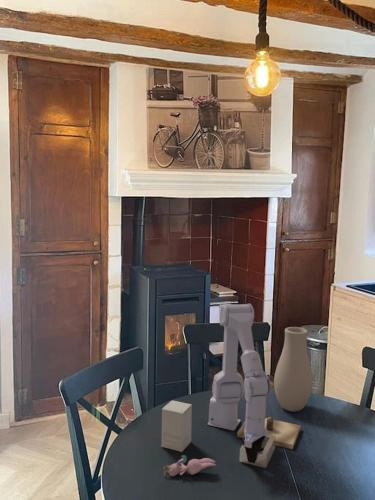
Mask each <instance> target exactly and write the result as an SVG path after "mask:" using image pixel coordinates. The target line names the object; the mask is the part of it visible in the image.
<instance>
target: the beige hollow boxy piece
mask: <svg viewBox="0 0 375 500" xmlns="http://www.w3.org/2000/svg"><path fill="white" fill-rule="evenodd" d="M275 441H276V437H275V436H271V435H267V436H265V438H264V440H263V442H262V446H261V449H263V450H260V451H258V453H257V458H256V462H255V463H250V462H248V460H247V454H246V450H245V447H244V445H243V444H242V445H241V446H240V448H239V457H238V458H239V463H244V464H249V465H252V466H256V467H260V468H264V469H266V468H267V466H268V464H269V462H270V460H271V458H272V456H273V453H274V452H275V449H276V445H275Z"/></svg>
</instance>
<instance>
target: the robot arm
mask: <svg viewBox="0 0 375 500" xmlns="http://www.w3.org/2000/svg"><path fill="white" fill-rule="evenodd" d="M254 319H255V310H254V307H253V304H251V303H246V304H245V303H243V304H223V305H221V307H220V309H219V326H222V327H223V329H224V331H223V346H222V350H223V351H222V370H221V371H219V372H218V373H216V374H215V375H214V376H213V382H212V384H211V391H212V396H211V398H210V401H209V405H208V422H207V425H208V426H212V427H216V428H221V429H225V430H228V431H229V430H230V431H235V430H236V429H237V427H238V426H239V424H240V423H241V421H242V420H241V419H240V418H238V409H239V402H240V401H241V398H243V396H244V399H245V402H246V403H245V417H244V418H245V421H244V422H245V428H244V434H245V437H243V438H242V439H241V444H242V445H244V447H245V450H246V454H247V460H248V462H250V463H255V462H256V458H257V453H258V451H261V449H262V448H261V446H262V442H263V440H264V438H265V436H267V435H268V433H269V432H268V431H266V430H265V418H266V411H267V409H266V408H267V407H266V406H267V396H268V395H270V393H271V382H270V377H269V376H268V375H267V372H266V371H264V368H263V364H262V363H263V362H262V360H261V356H260V353H259V352H258V351H256V350H255V346H254V339H253V338H254V337H253V330H252V326H253V324H254ZM239 345H240V347H241V350H242V354H241V356H240V361H241V365H242V371H243V376H244V378H243V376H242V375H241V374H240V373H239V372H238V369H237V368H238V356H239V355H238V350H239V349H238V348H239Z"/></svg>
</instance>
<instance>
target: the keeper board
mask: <svg viewBox="0 0 375 500" xmlns="http://www.w3.org/2000/svg"><path fill="white" fill-rule="evenodd" d="M301 426H302V425H300V424H296V423H290V422H286V421H281V420H278V419H277V420H276V419H274V418H273V417H272V416H268V417H265V430H266V431H268V432H269V433H268V435H271V436H275V437H276V441H275V447H276V446H277V447H281V448H285V449H289V450H293V449H294V446H295V444H296V442H297V439H298V437H299V434H300V433H301V430H302V429H301ZM244 428H245V421H244V422H243V423H242V425H241V427H239V429H238V431H237V434H236V436H237V438H242V439H243V437H245V434H244Z"/></svg>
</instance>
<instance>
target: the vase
mask: <svg viewBox="0 0 375 500" xmlns="http://www.w3.org/2000/svg"><path fill="white" fill-rule="evenodd" d="M308 331H309V330H307V329H306V328H303V327H298V326H289V327H286V328H285V329H284V342H283V348H282V352H281V354H280V357H279V360H278V361H277V365H276V369H275V373H274V378H273V387H274V394H275V396H276V399H277V401H278V403H279V405H280V407H281V408H282V409H283V410H285V411H288V412H300V411H301V410H303V408H304V407H306V405H307V404H308V401H309V399H310V397H311V394H312V390H313V384H314V383H313V371H312V368H311V363H310V358H309V354H308V348H307V347H308V346H307V345H308V341H307V340H308V333H309V332H308Z"/></svg>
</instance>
